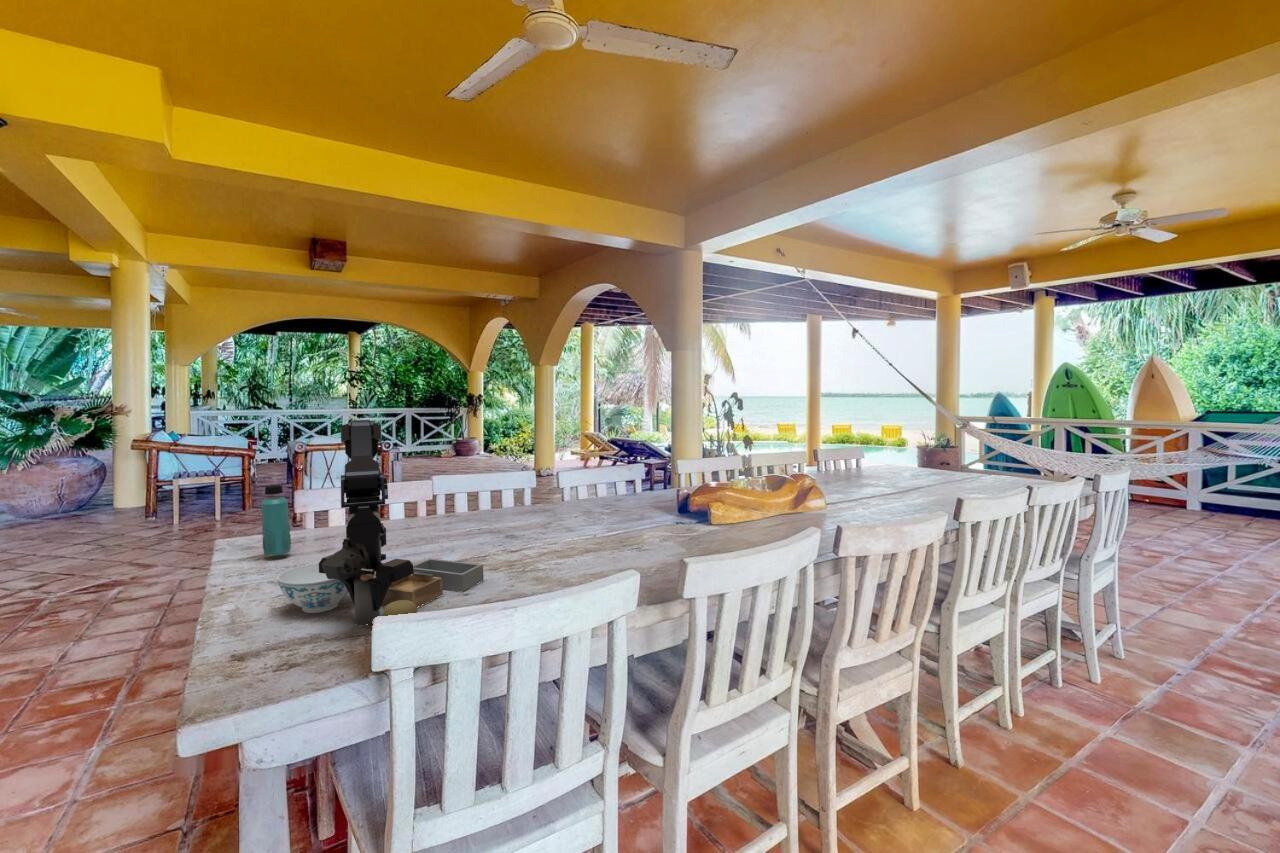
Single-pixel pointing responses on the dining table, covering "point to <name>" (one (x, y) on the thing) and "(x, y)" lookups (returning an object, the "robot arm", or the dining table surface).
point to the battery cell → (364, 601)
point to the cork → (400, 610)
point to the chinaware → (311, 588)
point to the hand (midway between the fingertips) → (367, 608)
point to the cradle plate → (409, 585)
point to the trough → (452, 573)
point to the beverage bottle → (275, 523)
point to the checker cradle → (415, 590)
